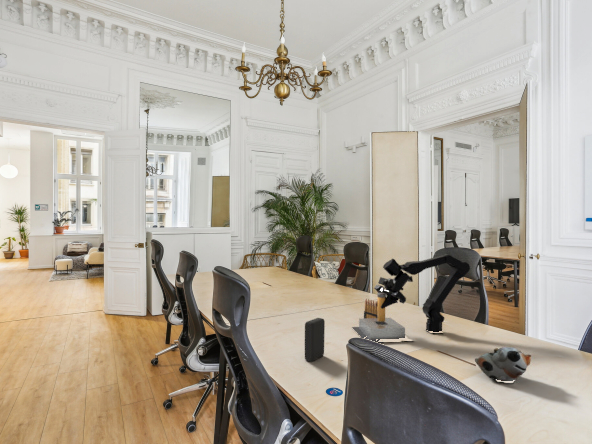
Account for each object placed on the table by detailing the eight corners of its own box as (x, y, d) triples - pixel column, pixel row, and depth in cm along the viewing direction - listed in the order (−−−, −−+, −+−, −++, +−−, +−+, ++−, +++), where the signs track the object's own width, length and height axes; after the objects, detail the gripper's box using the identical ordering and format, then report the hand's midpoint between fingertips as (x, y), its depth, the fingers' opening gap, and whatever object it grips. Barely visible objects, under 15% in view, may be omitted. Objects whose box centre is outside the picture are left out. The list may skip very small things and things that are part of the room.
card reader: (317, 353, 138) (317, 316, 138) (325, 355, 136) (325, 318, 136) (303, 360, 131) (303, 321, 131) (311, 363, 129) (312, 323, 129)
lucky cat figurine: (499, 366, 127) (521, 338, 122) (522, 394, 116) (547, 364, 111) (467, 358, 124) (488, 329, 119) (487, 385, 113) (511, 355, 108)
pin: (385, 320, 163) (386, 293, 163) (384, 322, 159) (384, 294, 159) (378, 319, 164) (378, 292, 164) (376, 321, 161) (376, 293, 161)
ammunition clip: (363, 320, 186) (363, 298, 186) (365, 319, 187) (366, 298, 187) (378, 325, 177) (378, 302, 177) (381, 324, 178) (381, 301, 178)
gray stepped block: (393, 326, 174) (393, 316, 174) (413, 341, 153) (413, 329, 153) (351, 328, 172) (352, 317, 172) (366, 343, 150) (366, 331, 150)
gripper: (377, 268, 172) (358, 292, 168) (400, 274, 154) (380, 300, 150) (390, 283, 175) (372, 306, 171) (414, 290, 157) (394, 316, 153)
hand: (379, 307), depth 161 cm, fingers closed on pin, 4 cm apart
